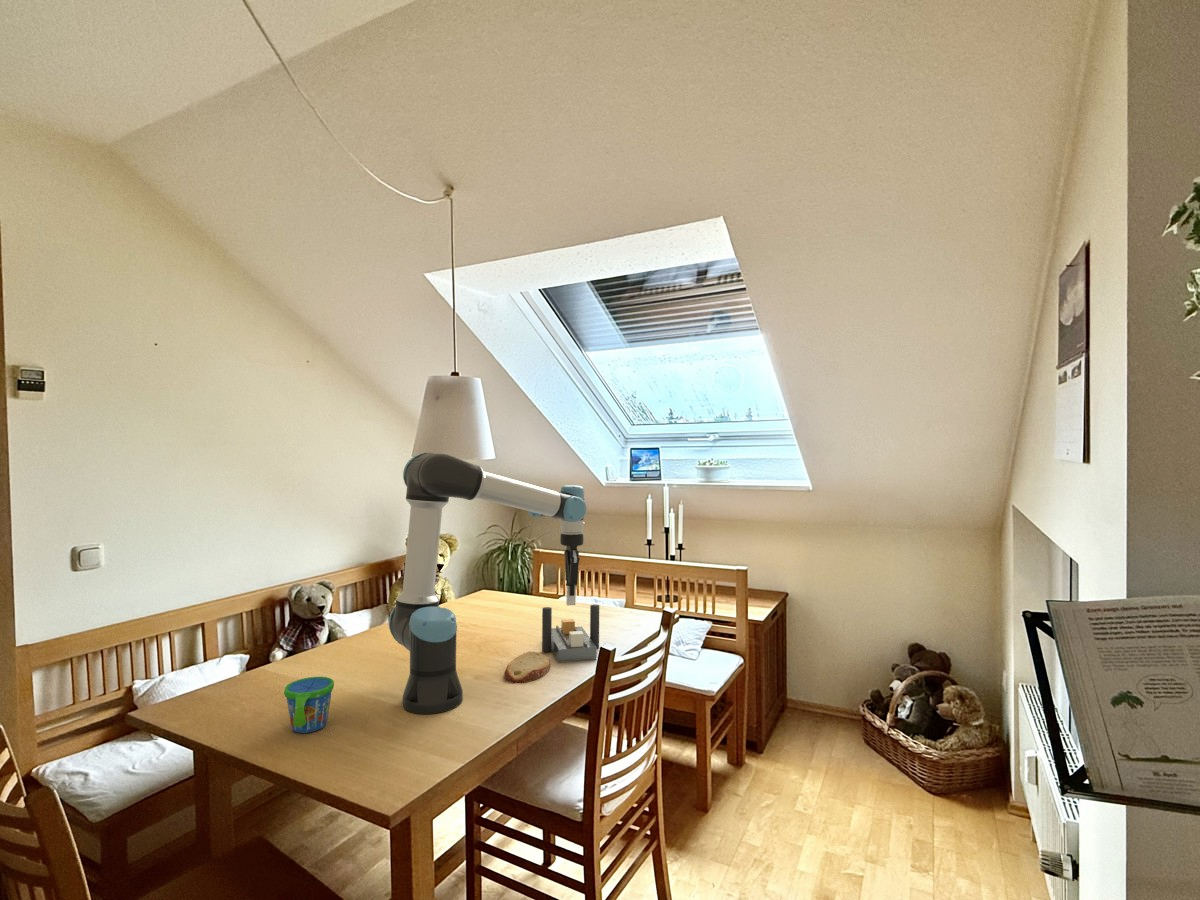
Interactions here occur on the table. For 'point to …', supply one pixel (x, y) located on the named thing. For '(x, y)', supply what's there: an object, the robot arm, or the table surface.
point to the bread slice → (527, 667)
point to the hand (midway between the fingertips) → (570, 604)
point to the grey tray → (572, 653)
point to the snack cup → (309, 703)
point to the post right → (594, 624)
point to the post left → (546, 629)
